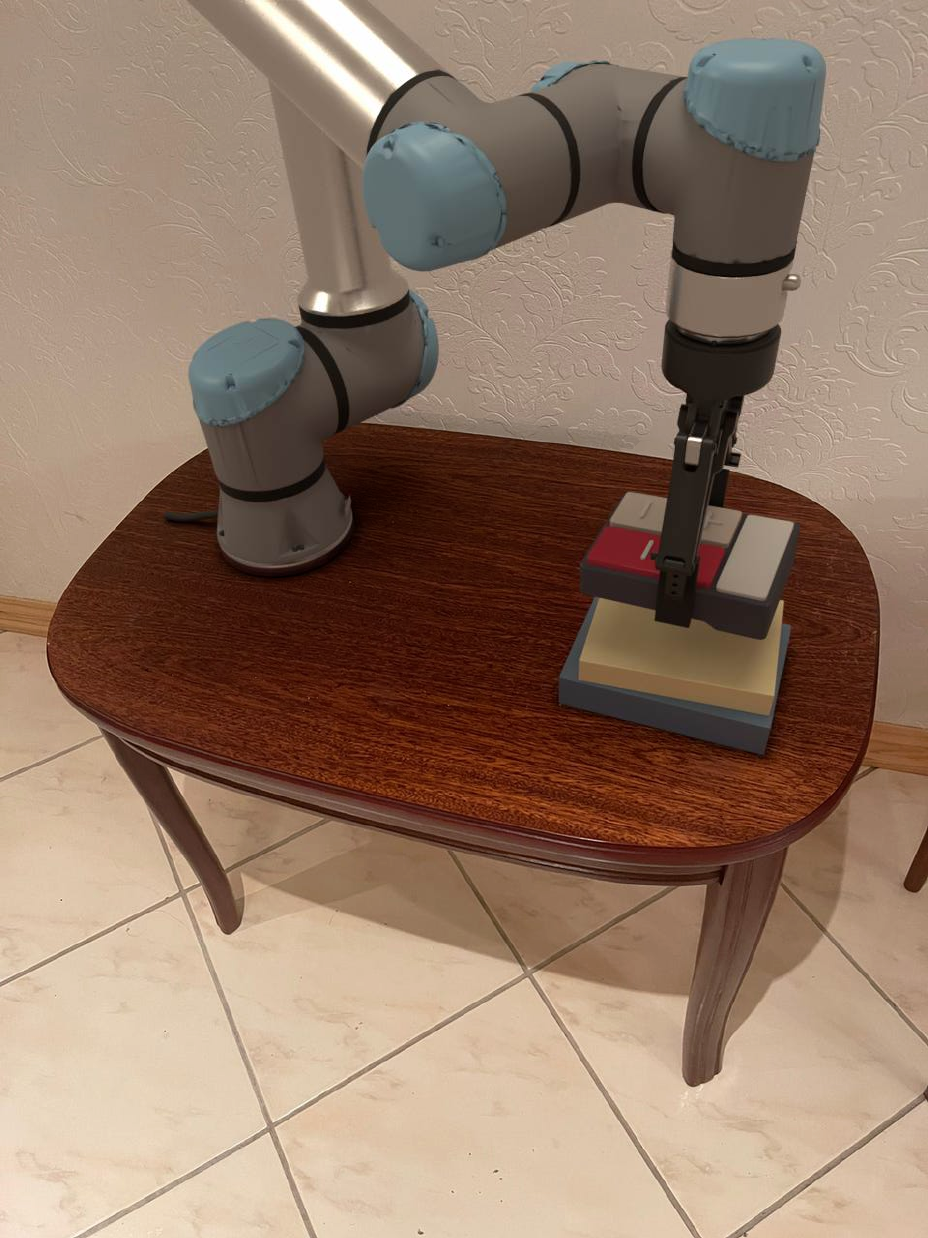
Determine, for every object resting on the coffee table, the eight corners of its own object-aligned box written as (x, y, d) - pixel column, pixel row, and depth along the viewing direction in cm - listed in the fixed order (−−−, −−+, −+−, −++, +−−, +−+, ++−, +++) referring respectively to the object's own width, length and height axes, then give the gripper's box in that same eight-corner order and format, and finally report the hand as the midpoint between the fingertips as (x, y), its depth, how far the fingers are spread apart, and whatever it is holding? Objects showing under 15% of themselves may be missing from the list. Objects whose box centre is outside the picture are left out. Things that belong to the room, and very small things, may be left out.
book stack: (558, 703, 80) (559, 656, 76) (598, 610, 89) (601, 563, 85) (763, 755, 74) (776, 708, 70) (785, 650, 83) (797, 602, 79)
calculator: (623, 484, 77) (803, 515, 71) (623, 525, 80) (795, 557, 74) (577, 558, 70) (771, 598, 64) (578, 599, 73) (765, 642, 67)
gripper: (753, 415, 49) (706, 684, 64) (804, 258, 65) (757, 502, 80) (621, 398, 52) (605, 661, 67) (701, 250, 68) (674, 489, 82)
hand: (688, 575), depth 73 cm, fingers closed on calculator, 11 cm apart
